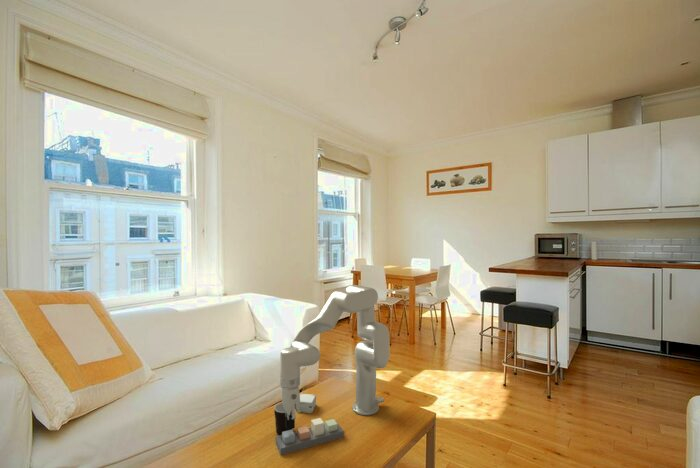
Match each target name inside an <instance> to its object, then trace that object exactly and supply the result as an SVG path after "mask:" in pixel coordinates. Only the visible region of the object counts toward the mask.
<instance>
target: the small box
mask: <svg viewBox="0 0 700 468" xmlns="http://www.w3.org/2000/svg"><path fill="white" fill-rule="evenodd" d="M316 403H317V395H316V394H310V393H300V413H308V414H312V413H313V412H314V409H315V407H316V405H317V404H316ZM295 413H297V411H296V410H295Z"/></svg>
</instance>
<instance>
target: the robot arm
mask: <svg viewBox="0 0 700 468" xmlns="http://www.w3.org/2000/svg"><path fill="white" fill-rule="evenodd" d="M378 300H379V294H378V292H377V290H376V289H374V288H373V287H369V286H364V285H357V284H350V285H348V286H347V287H346V288H345V290H335V291H333V292H331V294H330V296H329V298H328V299H327V300H326V302H325V304H324V305H323V307H322V308H321V310H320V311H319V313H318V314H317V316H316V317H315V318H314V319H313V320H311V321H310V322H308V323H307V324H306V325H304V326H303V327H302V328H301V329H300V330H299V331H298V332H297V334H296V335H295V337H294V338H293V340H292V342H291V345H290V347H286V348H283V349H282V350H281V351H280V361H279V362H280V363H279V365H280V376H279V378H280V382H279V383H280V388H281V402H282V405H283V407H284V409H285V415H286V417H287V418H286V429H287V430H289V429H292V430H293V429H295V426H296V425H295V424H296V423H295V422H296V421H295V420H296V416H297V415H296V413H297V414H300V413H301V412H300V394H301V393H300V384H301V367H309V366H313V365H315V364H317V362H319V361H320V359H321V351H320V350H319V348H318V347H316V346H314V345H312V344H310V342H311V340H312V339H313V338H314V337H315V336H317V335H319V334H321V333H324V332H325V333H326V332H329V331H331V330H333V329H334V328H335V327H336V325H337V323H338V321H339V320H340V318H341V316H342V314H343V313H344V312H345V313H348V314H356V321H357V323H356V325H357V327H356V328H357V336H358V337H359V338H360V339H362V341H359V342H358V343H357V344H356V345H355V348H354V357H355V358H354V359H355V368H356V370H355V373H356V374H355V376H356V377H355V378H356V379H355V401H354V402H353V403H352V407H351V408H352V410H353V412H354V413H356V414H357V415H361V416H373V415H375V414H377V413H378V412H379V409H380V407H379V404H380V403H385V398H384V397H380V396H376V395H377V393H376V392H377V391H376V390H377V369H384V368H386V367H387V365H388V363H389V360H390V331H389V329H388V327H387V325H386V324H384V323H382V322H379V321H377V320H376V313H375V312H376V311H375V307H374V306H375V305H376V304H377V302H378ZM376 368H377V369H376ZM296 411H297V412H296Z"/></svg>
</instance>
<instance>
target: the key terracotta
mask: <svg viewBox="0 0 700 468" xmlns="http://www.w3.org/2000/svg"><path fill="white" fill-rule="evenodd" d="M308 428H309V427H308V426H307V425H305V426H300V427H297V428H296V431H297V437H298V439H299V440H303V439H307V438H310V431H309V429H308Z"/></svg>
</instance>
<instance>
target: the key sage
mask: <svg viewBox="0 0 700 468" xmlns="http://www.w3.org/2000/svg"><path fill="white" fill-rule="evenodd" d="M336 422H337V420H335V419H334V418H332V419H329V420H324V424H325V429H326V431H327V432H328V433H329V432H332V431H336V430H337V425H338V424H339V423H338V422H337V423H338V424H337V423H336Z"/></svg>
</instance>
